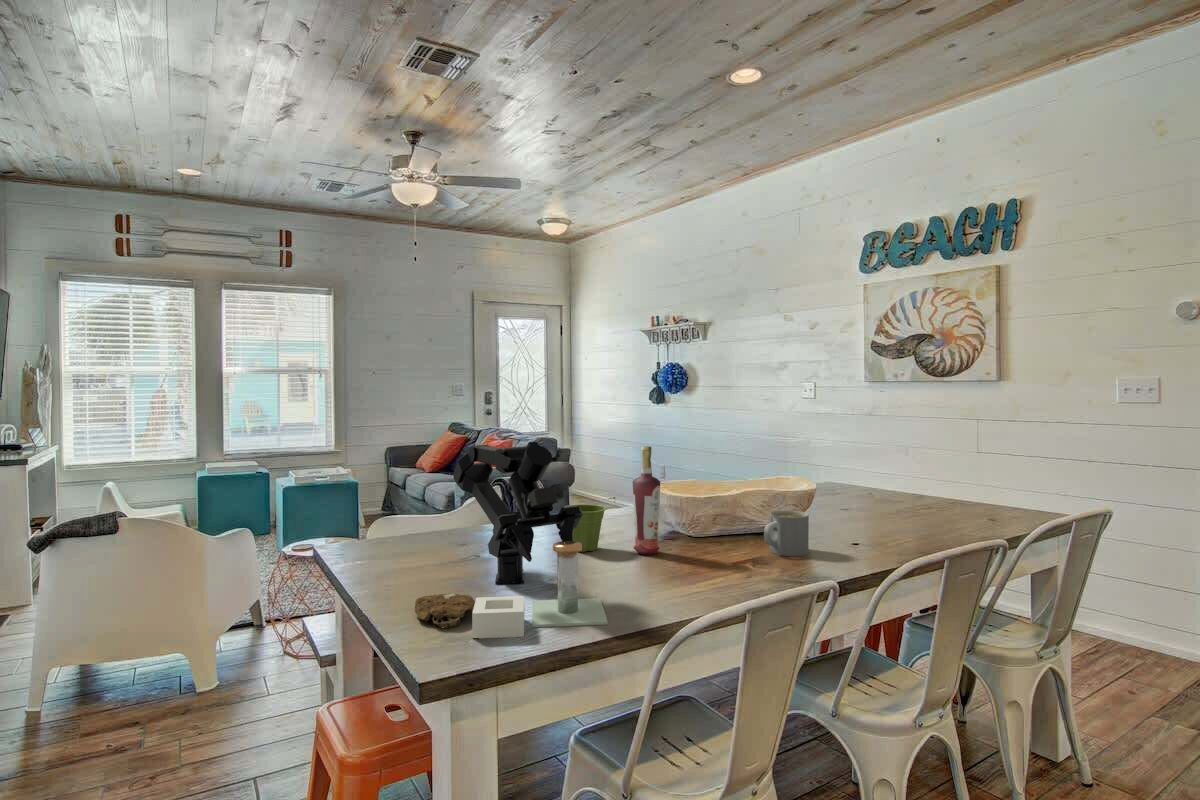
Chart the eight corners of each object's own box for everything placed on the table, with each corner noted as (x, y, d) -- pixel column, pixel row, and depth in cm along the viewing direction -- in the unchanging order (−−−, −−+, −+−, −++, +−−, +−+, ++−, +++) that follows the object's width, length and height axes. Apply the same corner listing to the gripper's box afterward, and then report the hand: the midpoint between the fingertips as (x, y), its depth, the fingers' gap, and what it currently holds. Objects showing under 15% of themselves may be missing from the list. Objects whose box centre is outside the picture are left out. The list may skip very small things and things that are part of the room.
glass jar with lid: (548, 609, 136) (547, 543, 136) (572, 604, 139) (572, 539, 139) (562, 617, 132) (562, 549, 131) (587, 611, 135) (587, 545, 134)
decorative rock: (488, 626, 130) (463, 606, 143) (489, 604, 130) (463, 586, 143) (428, 634, 124) (407, 613, 137) (429, 611, 125) (408, 592, 138)
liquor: (650, 557, 177) (650, 448, 176) (627, 553, 182) (626, 447, 181) (665, 552, 183) (665, 446, 182) (642, 548, 187) (642, 445, 187)
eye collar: (476, 621, 131) (476, 597, 131) (524, 619, 132) (524, 595, 132) (472, 638, 122) (472, 613, 122) (523, 636, 123) (523, 611, 123)
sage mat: (532, 603, 142) (532, 600, 142) (600, 600, 143) (600, 598, 143) (532, 627, 128) (532, 624, 128) (607, 624, 129) (607, 621, 129)
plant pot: (606, 554, 181) (605, 511, 180) (560, 554, 181) (560, 512, 181) (606, 544, 193) (606, 503, 192) (563, 544, 193) (563, 503, 192)
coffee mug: (793, 545, 190) (793, 509, 190) (816, 554, 180) (816, 515, 180) (751, 549, 185) (751, 512, 185) (772, 558, 176) (772, 519, 176)
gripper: (496, 476, 140) (519, 541, 131) (578, 468, 149) (604, 528, 140) (483, 508, 147) (504, 572, 138) (562, 498, 156) (586, 558, 147)
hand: (551, 557), depth 141 cm, fingers open, 9 cm apart
